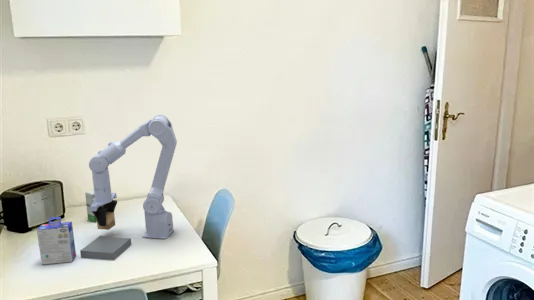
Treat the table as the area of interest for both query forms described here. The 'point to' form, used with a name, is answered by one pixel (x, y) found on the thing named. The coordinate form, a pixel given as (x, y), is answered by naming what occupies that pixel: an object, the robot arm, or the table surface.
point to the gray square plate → (105, 248)
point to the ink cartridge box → (56, 242)
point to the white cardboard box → (89, 202)
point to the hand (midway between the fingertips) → (106, 223)
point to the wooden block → (108, 221)
